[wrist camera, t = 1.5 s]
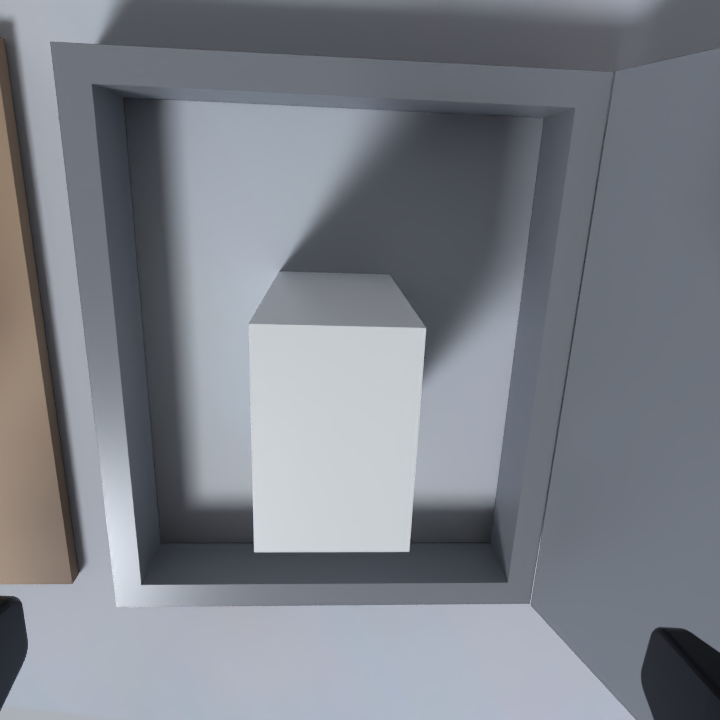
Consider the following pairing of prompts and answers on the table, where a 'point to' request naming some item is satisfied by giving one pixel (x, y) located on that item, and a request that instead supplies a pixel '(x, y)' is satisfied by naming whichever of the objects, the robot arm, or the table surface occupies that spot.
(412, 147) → the table surface
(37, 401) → the walnut board
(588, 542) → the case lid
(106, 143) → the case
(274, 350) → the block
